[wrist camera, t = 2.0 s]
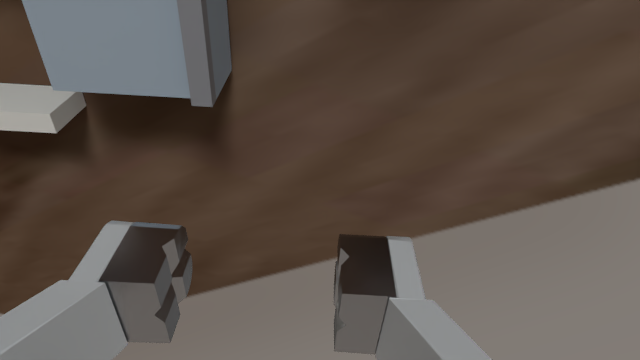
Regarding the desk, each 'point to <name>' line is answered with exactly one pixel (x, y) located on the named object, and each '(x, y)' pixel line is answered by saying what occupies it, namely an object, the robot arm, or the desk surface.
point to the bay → (37, 108)
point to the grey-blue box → (134, 46)
